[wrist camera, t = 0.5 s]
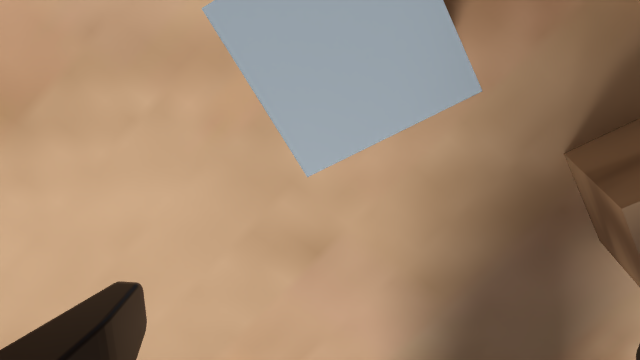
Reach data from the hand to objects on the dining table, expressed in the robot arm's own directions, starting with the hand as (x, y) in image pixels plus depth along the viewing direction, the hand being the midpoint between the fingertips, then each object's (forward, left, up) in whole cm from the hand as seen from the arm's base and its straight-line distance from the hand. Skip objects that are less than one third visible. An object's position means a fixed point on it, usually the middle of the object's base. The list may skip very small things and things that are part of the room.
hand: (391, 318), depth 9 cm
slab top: (+3, -1, -10) cm, 10 cm away
